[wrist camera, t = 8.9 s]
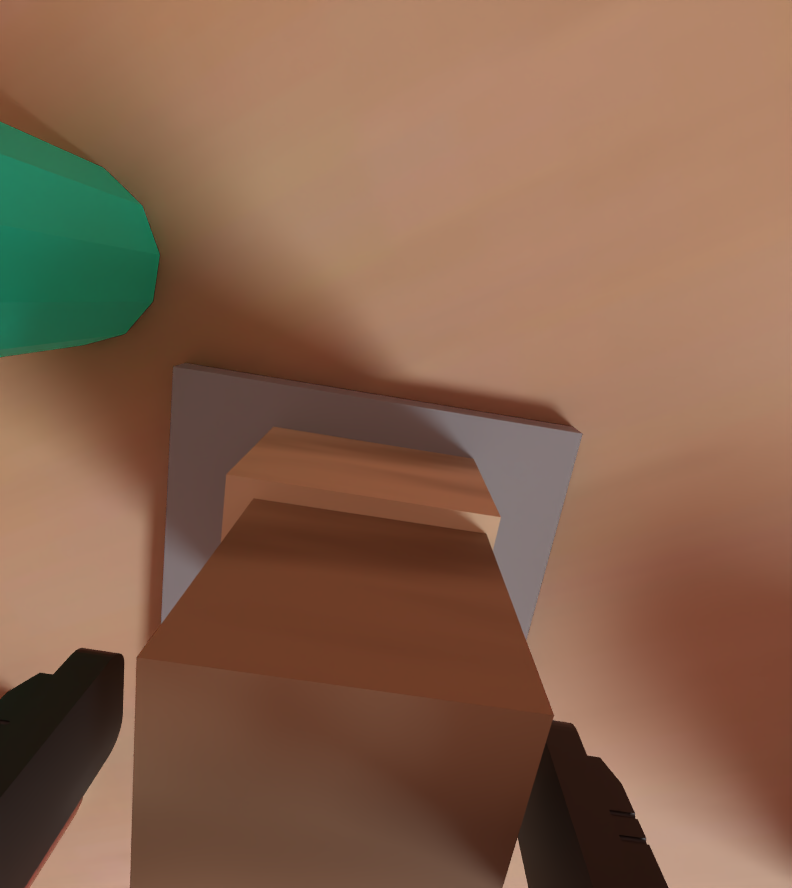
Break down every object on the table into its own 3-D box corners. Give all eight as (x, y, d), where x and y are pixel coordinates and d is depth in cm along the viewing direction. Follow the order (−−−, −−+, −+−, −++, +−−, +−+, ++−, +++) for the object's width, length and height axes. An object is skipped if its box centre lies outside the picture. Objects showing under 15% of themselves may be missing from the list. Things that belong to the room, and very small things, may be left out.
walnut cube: (253, 498, 13) (136, 656, 7) (486, 533, 13) (554, 715, 7) (235, 693, 15) (127, 951, 9) (443, 721, 15) (471, 991, 9)
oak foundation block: (273, 426, 18) (226, 474, 13) (473, 458, 18) (500, 517, 13) (255, 603, 20) (208, 702, 15) (436, 630, 20) (448, 736, 15)
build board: (185, 363, 18) (173, 366, 17) (573, 426, 19) (582, 433, 18) (159, 831, 24) (149, 853, 23) (455, 869, 24) (457, 892, 24)
